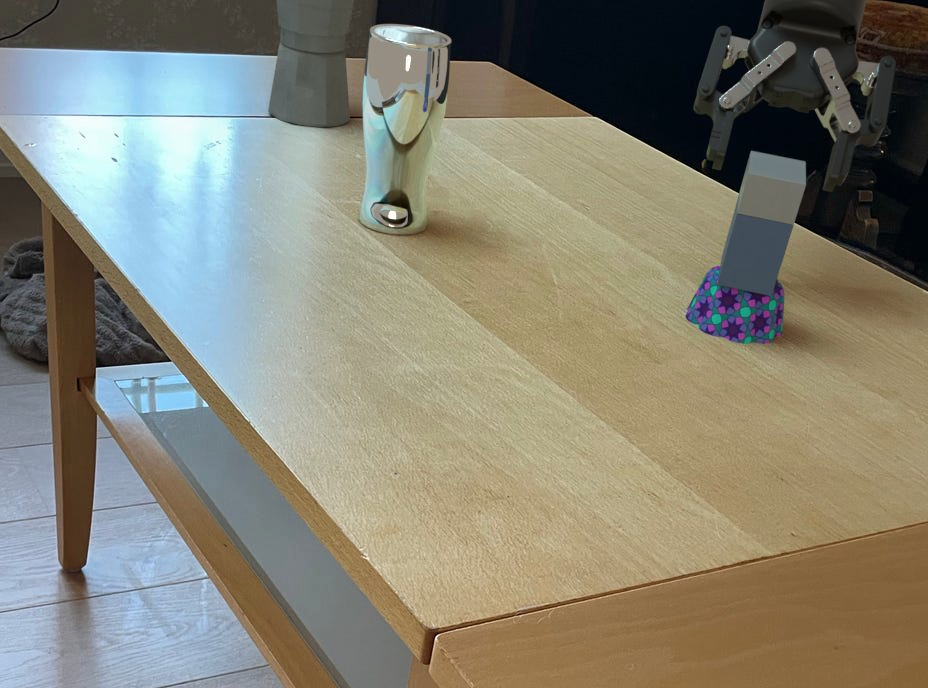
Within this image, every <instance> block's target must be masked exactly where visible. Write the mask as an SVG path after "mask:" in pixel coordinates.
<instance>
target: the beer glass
mask: <svg viewBox="0 0 928 688" xmlns="http://www.w3.org/2000/svg"><path fill="white" fill-rule="evenodd" d="M451 47H452V39H451V37H450V36H448V35H447V34H444V33H442V32H440V31H437V30H434V29H430V28H427V27H422V26H416V25H410V24H399V23H382V24H376V25H373V26H371V27H370V28H369V37H368V42H367V49H366V56H365V63H364V69H363V80H362V91H361V92H362V93H361V94H362V96H361V111H362V128H363V130H362V131H363V142H364V143H363V144H364V154H365V155H364V156H365V180H364V188H363V193H362V196H361V201H360V204H359V208H358V212H357V219H358V220H357V221H359V223H360V224H361V225H363V226H364V227H365V228H368V229H370V230H373V231H375V232H378V233H382V234H389V235H398V236H399V235H400V236H405V235H406V236H407V235H415V234H419V233H422V232H424V231H425V230H426V229H427V227H428V207H427V205H428V204H427V191H428V181H429V175H430V172H431V167H432V163H433V160H434V157H435V153H436V149H437V146H438V143H439V139H440V135H441V132H442V129H443V124H444V119H445V115H446V109H447V102H448V96H449V85H450V69H451V50H452V49H451Z"/></svg>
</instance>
